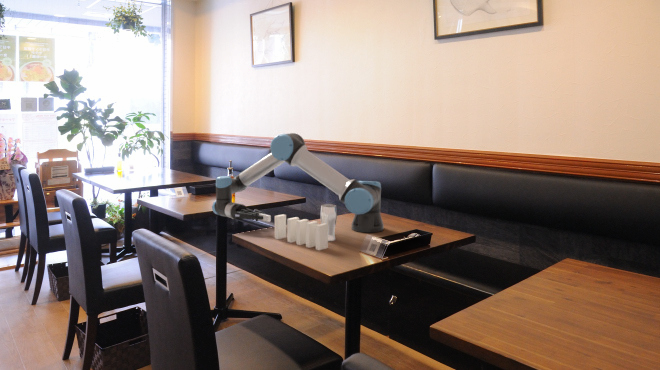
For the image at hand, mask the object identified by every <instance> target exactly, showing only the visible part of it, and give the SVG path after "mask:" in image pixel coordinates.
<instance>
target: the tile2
mask: <svg viewBox="0 0 660 370" xmlns="http://www.w3.org/2000/svg"><path fill="white" fill-rule="evenodd" d="M298 220H300V218H299V217H298V216H295V217H290V218H289V217H288V218H286V238H287V239H286V240H287V243H291V244H292V243H295V242H296V224H297V221H298Z"/></svg>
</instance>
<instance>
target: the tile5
mask: <svg viewBox="0 0 660 370" xmlns="http://www.w3.org/2000/svg"><path fill="white" fill-rule="evenodd" d="M328 246H329V242H328V224H326V223H323V224H321V223H318V225H316V246H315V250H316V251H322V250H326V249H328V248H329V247H328Z"/></svg>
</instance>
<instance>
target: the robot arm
mask: <svg viewBox="0 0 660 370" xmlns="http://www.w3.org/2000/svg"><path fill="white" fill-rule="evenodd" d="M284 163H287V164H288V165H289V166H291V167H298V168H299V169H301V170H302V171H303V172H305V173H306V174H308V175H309V176H310V177H312V178H313V179H315V180H316V181H318V182H319V183H320V184H322V185H323V186H325V187H326V188H327V189H329V190H330V191H331V192H333V193H335V195H337V196H338V198H339V201H340V202H341V203H342V204H344V205H345V207H346V209H347V210H348V211H349V212H350V213H352V214H354V215H353V219H352V223H351V229H352V230H353V231H354V232H358V233H359V232H360V233H379V232H382V231H383V230H384V229H385V228H384V227H385V225H384V222H383V218H382V215H381V203H382V202H381V195H382V184H381V182H380V181H372V180H370V181H369V180H356V179H354V178H353V179H349V178H348V177H346V176H345V175H343V174H342V173H341V172H339V171H338V170H336V169H335V168H333V167H332V166H331V165H329V164H328V163H326V162H325V161H324V160H322V159H320V158H319V157H317V156H316V155H315V154H313V153H312V152H311V151H309V150H308V146H307V145H306V141H305V140H304V138H303V137H302V136H301V135H300V134H298V133H294V132H293V133H292V132H291V133H280V134H278V135H276V136H274V137H273V139H272V140H271V142H270V152H269V153H268V154H267V155H265V156H264V157H263V158H261V159H260V160H258V161H256V162H255V163H254V164H252V165H250V167H248V168H246V169H245V170H242V171H241V172H240V173H239V174H238V175H236V176H234V177H231V176H228V175H220V176H217V177H216V178H215V200H214V201H213V203H212V206H211V210H212V212H213V213H214V214H215V215H217V216H221V217H225V218H230V219H232V220H238V221H242V220H249V221H255V222H259V221H262V222H267V223H269V222H271V220H272V218H271V217H272V216H271V215H270V214H266V213H265V212H264V211H261V210H259V209H257V208H255V209H254V210H253V209H250V208H247V206H246V205H245V204H242V203H237V202H233V201H232V200H233V194H236V193H240V192H243V191H245V190H246V189H247V187H249V186H250V185H251V184H253V183H254V182H256V181H257V180H259V179H261V178H263V177H264V176H265V175H267V174H269V173H270V172H272V171H273V170H275V169H276V168H278V167H279V166H282V164H284Z"/></svg>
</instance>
